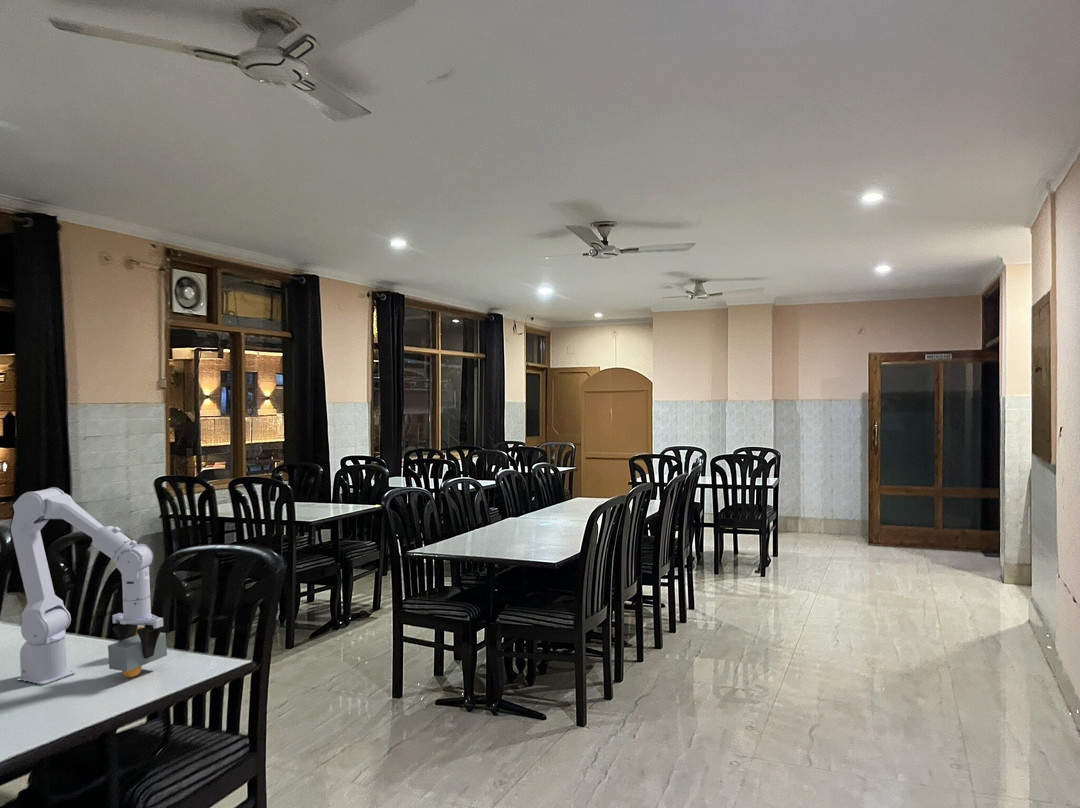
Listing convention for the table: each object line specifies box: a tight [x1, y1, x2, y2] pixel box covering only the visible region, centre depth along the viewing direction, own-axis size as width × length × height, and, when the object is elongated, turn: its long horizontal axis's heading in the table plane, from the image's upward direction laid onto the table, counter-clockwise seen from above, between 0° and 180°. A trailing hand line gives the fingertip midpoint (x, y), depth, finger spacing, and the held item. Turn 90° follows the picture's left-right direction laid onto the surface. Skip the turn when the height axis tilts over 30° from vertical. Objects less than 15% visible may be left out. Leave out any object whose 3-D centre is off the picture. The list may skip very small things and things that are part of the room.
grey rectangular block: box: [107, 632, 168, 672], centre depth 180 cm, size 6×11×5 cm, turn 156°
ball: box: [121, 665, 143, 678], centre depth 179 cm, size 4×4×4 cm
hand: (138, 655), depth 181 cm, fingers closed on grey rectangular block, 6 cm apart
